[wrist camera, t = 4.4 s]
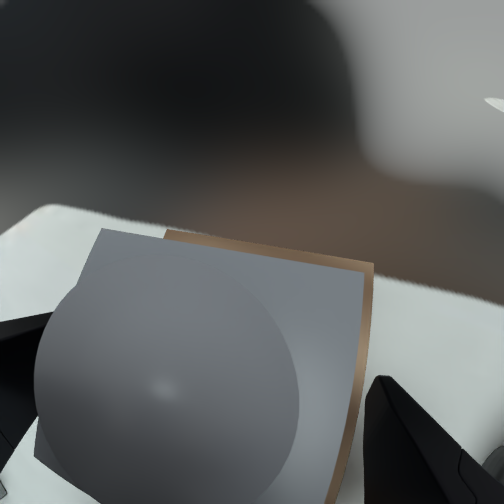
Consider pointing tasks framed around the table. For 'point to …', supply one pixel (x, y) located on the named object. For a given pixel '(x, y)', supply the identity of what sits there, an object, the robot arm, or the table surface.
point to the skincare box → (2, 491)
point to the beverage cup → (496, 464)
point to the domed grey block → (197, 375)
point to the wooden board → (364, 328)
